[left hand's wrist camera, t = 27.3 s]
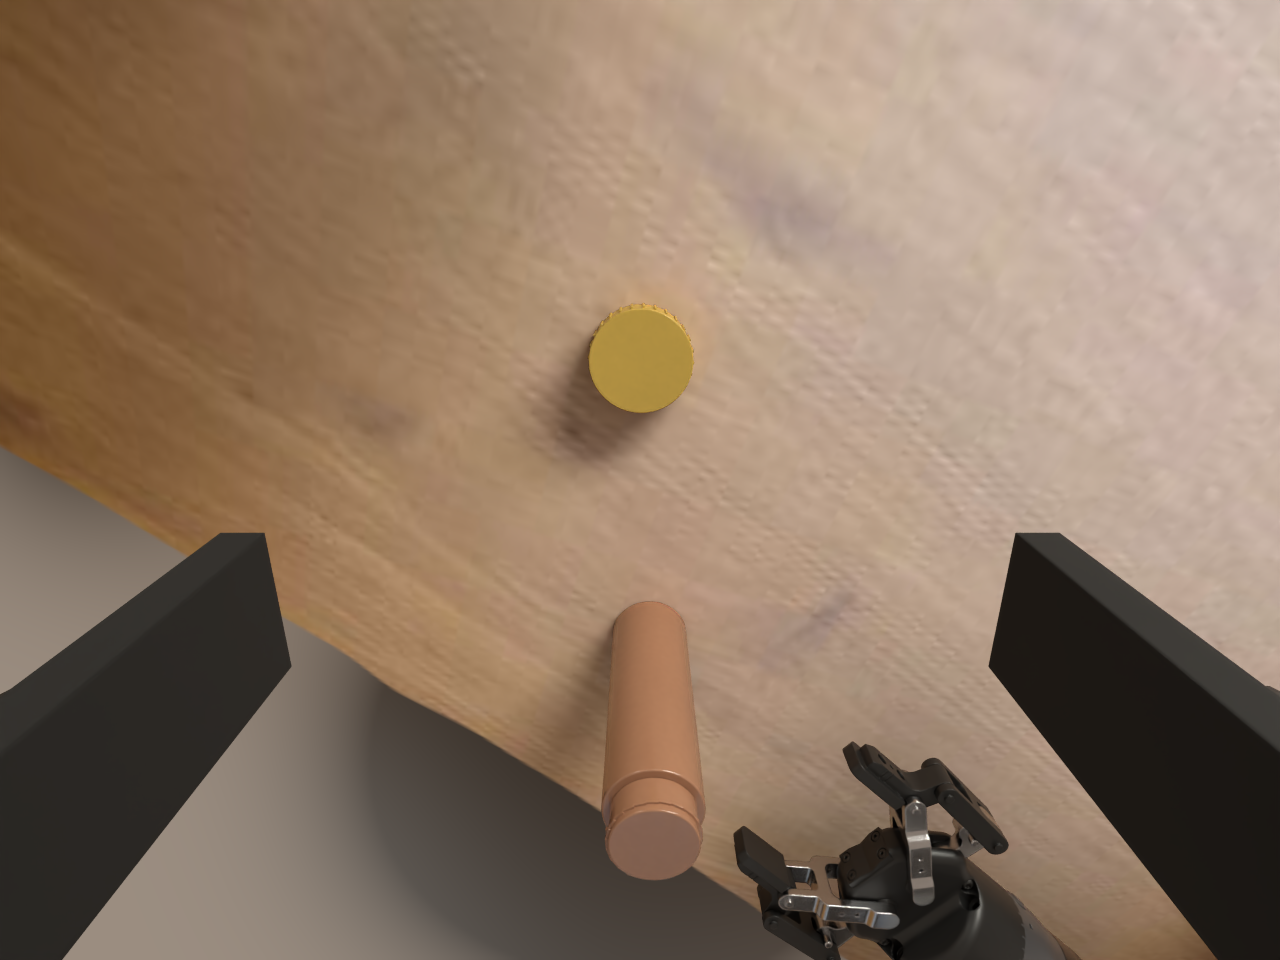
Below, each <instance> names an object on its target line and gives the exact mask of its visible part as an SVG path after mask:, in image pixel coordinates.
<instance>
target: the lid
mask: <svg viewBox="0 0 1280 960" xmlns="http://www.w3.org/2000/svg"><path fill="white" fill-rule="evenodd" d="M593 336H594V339H593V341H591V343H590V346H589V347H590V353H589V355H588V359H589V371H590V374H591V377H592V381H593V382H594V384H595V386H596V388H597V389H598V391H599V392H600V394H601V395H602V396H603V397H604V398H605V399H606V400H607V401H608V402H610V403H611V404H613V405H614V406H616V407H618V408H620V409H623V410H625V411H629V412H635V413H647V412H653V411H656V410H660V409H662V408H664V407H666V406H668V405H669V404H671V403H672V402H673V401H675V400H676V399H677V398H678V397H679V396H680V395H681V394H682V392H683V391H684V390H685V388H686V386H687V385H688V382H689V380H690V377H691V376H692V369H693V364H694V361H693V353H692V352H694V350H693V348H692V346H691V344H690V342H689V341H691V340H690V337H689V335H687V334H686V332H685V328H684V326H683V324H682V325H681V324H680V323H679V322H678V320H677V318H676V316H674V317H673V316H672V315H671V314H670V313H668V312H667V310H666V309H665V310H663V309H661V308H658V307H656V305H654V306H651V305H645V303H642V304H640V305H633V304H631V306H627V307H624V308H622V307H620V308H619V310H617V311H616V312H614V313H610V314H609V317H607V318H606V319H605V320H604V321H603V320H602V321H601V324H600V327H599V328H598V330H596V331H595V333H594V335H593Z"/></svg>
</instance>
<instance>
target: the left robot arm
mask: <svg viewBox="0 0 1280 960" xmlns="http://www.w3.org/2000/svg"><path fill="white" fill-rule="evenodd" d="M290 668H291V661H290V657H289V652H288V647H287V642H286V637H285V632H284V627H283V622H282V617H281V612H280V607H279V602H278V597H277V592H276V588H275V583H274V578H273V573H272V568H271V563H270V558H269V553H268V548H267V543H266V538H265V533H220V534H218V535H217V536H216V537H214V538H213V539H212V540H210V541H209V542H208V543H206V544H205V545H204V546H202V547H201V548H200V549H198V550H197V551H196V552H194V553H193V554H192V555H190V556H189V557H187V558H186V559H185V560H184V561H182V562H181V563H179V564H178V565H177V566H175V567H174V568H173V569H171V570H170V571H169V572H167V573H166V574H165V575H163V576H162V577H161V578H159V579H158V580H157V581H155V582H154V583H153V584H151V585H150V586H149V587H147V588H146V589H144V590H143V591H142V592H140V593H139V594H138V595H136V596H135V597H134V598H132V599H131V600H130V601H128V602H127V603H126V604H124V605H123V606H122V607H120V608H119V609H118V610H116V611H115V612H114V613H112V614H111V615H110V616H108V617H107V618H106V619H104V620H103V621H101V622H100V623H99V624H97V625H96V626H95V627H93V628H92V629H91V630H89V631H88V632H87V633H85V634H84V635H83V636H81V637H80V638H79V639H77V640H76V641H75V642H73V643H72V644H71V645H69V646H68V647H67V648H65V649H64V650H63V651H61V652H60V653H58V654H57V655H56V656H54V657H53V658H52V659H50V660H49V661H48V662H46V663H45V664H44V665H42V666H41V667H40V668H38V669H37V670H36V671H34V672H33V673H32V674H30V675H29V676H28V677H26V678H25V679H24V680H22V681H21V682H19V683H18V684H17V685H15V686H14V687H13V688H11V689H10V690H8V691H6V692H4V693H2V694H0V960H62V959H63V958H64V957H65V955H66V954H67V953H68V952H69V950H70V949H71V948H72V946H73V945H74V944H75V943H76V941H77V940H78V939H79V938H80V936H81V935H82V934H83V932H84V931H85V930H86V928H87V927H88V926H89V925H90V923H91V922H92V921H93V920H94V918H95V917H96V916H97V914H98V913H99V912H100V911H101V909H102V908H103V907H104V906H105V904H106V903H107V902H108V900H109V899H110V898H111V897H112V895H113V894H114V893H115V891H116V890H117V889H118V888H119V886H120V885H121V884H122V883H123V881H124V880H125V879H126V877H127V876H128V875H129V874H130V872H131V871H132V870H133V868H134V867H135V866H136V865H137V863H138V862H139V861H140V859H141V858H142V857H143V856H144V854H145V853H146V852H147V850H148V849H149V848H150V847H151V845H152V844H153V843H154V842H155V840H156V839H157V838H158V836H159V835H160V834H161V833H162V831H163V830H164V829H165V828H166V826H167V825H168V824H169V822H170V821H171V820H172V819H173V817H174V816H175V815H176V813H177V812H178V811H179V810H180V808H181V807H182V806H183V805H184V803H185V802H186V801H187V799H188V798H189V797H190V796H191V794H192V793H193V792H194V790H195V789H196V788H197V787H198V785H199V784H200V783H201V782H202V780H203V779H204V778H205V776H206V775H207V774H208V773H209V771H210V770H211V769H212V767H213V766H214V765H215V764H216V762H217V761H218V760H219V758H220V757H221V756H222V755H223V753H224V752H225V751H226V749H227V748H228V747H229V746H230V744H231V743H232V742H233V741H234V739H235V738H236V737H237V735H238V734H239V733H240V732H241V730H242V729H243V728H244V727H245V725H246V724H247V723H248V721H249V720H250V719H251V718H252V716H253V715H254V714H255V712H256V711H257V710H258V709H259V707H260V706H261V705H262V704H263V702H264V701H265V700H266V698H267V697H268V696H269V695H270V693H271V692H272V691H273V689H274V688H275V687H276V686H277V684H278V683H279V682H280V680H281V679H282V678H283V677H284V675H285V674H286V673H287V672H288V670H289V669H290ZM989 668H990V669H991V670H992V672H993V673H994V674H995V675H996V677H997V678H998V679H999V680H1000V682H1001V683H1002V684H1003V686H1004V687H1005V688H1006V689H1007V691H1008V692H1009V693H1010V695H1011V696H1012V697H1013V698H1014V700H1015V701H1016V702H1017V704H1018V705H1019V706H1020V707H1021V709H1022V710H1023V711H1024V712H1025V714H1026V715H1027V716H1028V718H1029V719H1030V720H1031V721H1032V723H1033V724H1034V725H1035V727H1036V728H1037V729H1038V730H1039V732H1040V733H1041V734H1042V735H1043V737H1044V738H1045V739H1046V741H1047V742H1048V743H1049V744H1050V746H1051V747H1052V748H1053V750H1054V751H1055V752H1056V753H1057V755H1058V756H1059V757H1060V758H1061V760H1062V761H1063V762H1064V764H1065V765H1066V766H1067V767H1068V769H1069V770H1070V771H1071V773H1072V774H1073V775H1074V776H1075V778H1076V779H1077V780H1078V782H1079V783H1080V784H1081V785H1082V787H1083V788H1084V789H1085V790H1086V792H1087V793H1088V794H1089V796H1090V797H1091V798H1092V799H1093V801H1094V802H1095V803H1096V805H1097V806H1098V807H1099V808H1100V810H1101V811H1102V812H1103V813H1104V815H1105V816H1106V817H1107V819H1108V820H1109V821H1110V822H1111V824H1112V825H1113V826H1114V828H1115V829H1116V830H1117V831H1118V833H1119V834H1120V835H1121V836H1122V838H1123V839H1124V840H1125V842H1126V843H1127V844H1128V845H1129V847H1130V848H1131V849H1132V851H1133V852H1134V853H1135V854H1136V856H1137V857H1138V858H1139V860H1140V861H1141V862H1142V863H1143V865H1144V866H1145V867H1146V868H1147V870H1148V871H1149V872H1150V874H1151V875H1152V876H1153V877H1154V879H1155V880H1156V881H1157V883H1158V884H1159V885H1160V886H1161V888H1162V889H1163V890H1164V891H1165V893H1166V894H1167V895H1168V897H1169V898H1170V899H1171V900H1172V902H1173V903H1174V904H1175V906H1176V907H1177V908H1178V909H1179V911H1180V912H1181V913H1182V914H1183V916H1184V917H1185V918H1186V920H1187V921H1188V922H1189V923H1190V925H1191V926H1192V927H1193V929H1194V930H1195V931H1196V932H1197V934H1198V935H1199V936H1200V938H1201V939H1202V940H1203V941H1204V943H1205V944H1206V945H1207V946H1208V948H1209V949H1210V950H1211V952H1212V953H1213V954H1214V955H1215V957H1216V958H1217V959H1218V960H1280V691H1278V690H1276V689H1274V688H1272V687H1270V686H1265V685H1263V684H1262V683H1261V682H1259V681H1258V680H1256V679H1255V678H1254V677H1252V676H1251V675H1250V674H1248V673H1247V672H1246V671H1244V670H1243V669H1242V668H1240V667H1239V666H1238V665H1236V664H1235V663H1234V662H1232V661H1231V660H1230V659H1228V658H1227V657H1226V656H1224V655H1223V654H1222V653H1220V652H1219V651H1217V650H1216V649H1215V648H1213V647H1212V646H1211V645H1209V644H1208V643H1207V642H1205V641H1204V640H1203V639H1201V638H1200V637H1199V636H1197V635H1196V634H1195V633H1193V632H1192V631H1191V630H1189V629H1188V628H1187V627H1185V626H1184V625H1183V624H1181V623H1180V622H1179V621H1177V620H1176V619H1174V618H1173V617H1172V616H1170V615H1169V614H1168V613H1166V612H1165V611H1164V610H1162V609H1161V608H1160V607H1158V606H1157V605H1156V604H1154V603H1153V602H1152V601H1150V600H1149V599H1148V598H1146V597H1145V596H1144V595H1142V594H1141V593H1140V592H1138V591H1137V590H1136V589H1134V588H1133V587H1131V586H1130V585H1129V584H1127V583H1126V582H1125V581H1123V580H1122V579H1121V578H1119V577H1118V576H1117V575H1115V574H1114V573H1113V572H1111V571H1110V570H1109V569H1107V568H1106V567H1105V566H1103V565H1102V564H1101V563H1099V562H1098V561H1097V560H1095V559H1094V558H1093V557H1091V556H1090V555H1088V554H1087V553H1086V552H1084V551H1083V550H1082V549H1080V548H1079V547H1078V546H1076V545H1075V544H1074V543H1072V542H1071V541H1070V540H1068V539H1067V538H1066V537H1064V536H1063V535H1062V534H1060V533H1015V538H1014V543H1013V548H1012V553H1011V558H1010V563H1009V568H1008V573H1007V578H1006V583H1005V588H1004V592H1003V597H1002V602H1001V607H1000V612H999V617H998V622H997V627H996V632H995V637H994V642H993V647H992V652H991V657H990V661H989Z"/></svg>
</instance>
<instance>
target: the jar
mask: <svg viewBox="0 0 1280 960" xmlns="http://www.w3.org/2000/svg"><path fill="white" fill-rule="evenodd" d="M705 811H706V806H705V797H704V788H703V779H702V770H701V761H700V753H699V744H698V735H697V726H696V717H695V708H694V699H693V690H692V681H691V672H690V663H689V654H688V645H687V636H686V628H685V624H684V622H683V620H682V618H681V616H680V615H679V614H678V613H677V612H676V611H675V610H674V609H672V608H671V607H669V606H667V605H665V604H662V603H658V602H641V603H637V604H634V605H632V606H630V607H629V608H627V609H626V610H624V611H623V612H622V613H621V614H620V615H619V617H618V618H617V620H616V622H615V624H614V628H613V639H612V654H611V669H610V685H609V700H608V715H607V730H606V745H605V761H604V776H603V791H602V806H601V812H602V818H603V820H604V823H605V825H606V835H605V844H606V851H607V853H608V855H609V857H610V860H611V861H612V862H613V863H614V864H615V865H616V866H617V868H618V869H620V870H622V871H623V872H625V873H626V874H627V875H630V876H633V877H636V878H640V879H645V880H663V879H668V878H672V877H675V876H677V875H679V874H681V873H683V872H684V871H686V870H687V869H689V868H690V867H691V866H692V865H693V863H694V862H695V861H696V859H697V857H698V855H699V853H700V848H701V844H702V841H703V831H702V827H701V825H702V822H703V820H704V817H705Z"/></svg>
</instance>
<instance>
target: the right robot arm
mask: <svg viewBox="0 0 1280 960" xmlns="http://www.w3.org/2000/svg"><path fill="white" fill-rule="evenodd" d="M843 753H844V756H845V758H846V761H847V764H848V766H849V769H850V770H851V772H852V773H853V775H854V776H855V777H856V778H857V779H858V780H859V781H861V782H862V783H863V784H864V785H865V786H867V787H868V788H869V789H870V790H871V791H873V792H874V793H875V794H876V795H878V796H879V797H880V798H881V799H882V800H884V801H885V802H886V803H887V804H888V805H889V811H890V827H891V828H886V829H883V830H882V829H880V828H879V827H878V828H876V829H875V830H874V831H872V832H871V833H869V834H868V835H867V837H866V838H865V839H864V840H863V841H862V843H860V844H858V845H856V846H854V847H851V848H849V849H848V850H846V851H845V852H843V853H842V854H841V855H839V857H840V858H838V857H825V856H813V857H812V858H811V860H810V861H809V862H803V861H790V860H784V857H783V855H782V854H781V853H780V852H778V851H777V850H776V849H774V848H773V847H772V846H770V845H769V844H768V843H767V842H765V841H764V840H763V839H761V838H760V837H759V836H757V835H756V834H755V833H753V832H752V831H751V830H749V829H748V828H747V827H745V826H742V827H741V828H740V829H739V830H737V831H736V832H735V833H734V842H735V852H736V859H737V865H738V867H739V869H740V870H741V872H743V873H744V874H745V875H747V876H748V877H750V878H751V879H753V880H754V881H755V882H756V883H758V884H759V885H758V886H757V891H758V897H759V899H760V905H761V910H762V920H763V925H764V928H765V929H766V930H768V931H770V932H771V933H773V934H774V935H776V936H777V937H779V938H781V939H782V940H784V941H785V942H787V943H789V944H790V945H792V946H794V947H795V948H797V949H798V950H800V951H801V952H803V953H805V954H806V955H808V956H809V957H811V958H813V959H814V960H841V958H840V955H839V951H838V948H839V947H840V946H841V945H842V944H844V943H845V942H846V941H848V940H849V939H850V938H852V937H853V936H854V935H855V936H856V937H859V938H863V939H868V940H871V941H874V942H876V943H877V944H878V945H879V946H880V947H881V948H882V949H883V950H884V951H885V952H886V954H887V955H888V956H889V957H890V958H891V959H892V960H1082V959H1081V958H1080V957H1079V956H1078V955H1077V954H1075V953H1074V952H1073V951H1072V950H1071V949H1070V948H1069V947H1068V946H1066V945H1065V944H1064V943H1063V942H1062V941H1060V940H1059V939H1058V938H1057V937H1056V936H1054V935H1053V934H1052V933H1051V932H1050V931H1048V930H1047V929H1046V928H1045V927H1044V926H1043V925H1042V924H1041V922H1040V921H1039V920H1038V919H1037V918H1036V917H1035V916H1034V915H1033V913H1032V912H1031V911H1030V910H1028V909H1027V908H1026V907H1025V906H1024V904H1023V903H1022V902H1021V901H1020V900H1019V899H1018V898H1017V897H1016V896H1015V895H1014V894H1013V893H1010V892H1009V891H1006V890H1005V889H1004V888H1003V887H1001V886H1000V885H999V884H998V883H997V882H995V881H994V880H993V879H992V878H991V877H989V876H988V875H987V874H986V873H985V872H983V871H982V870H981V869H980V868H979V867H977V866H976V865H975V864H974V863H973V862H971V861H970V860H969V859H968V858H967V857H969V856H971V855H972V854H974V853H975V852H977V851H979V850H980V849H982V848H985V849H986V850H987V851H988V852H989V853H991V854H1001V853H1003V852H1005V851H1006V850H1007V849H1008V846H1009V844H1008V842H1007V840H1006V838H1005V837H1004V835H1003V833H1002V832H1001V830H1000V828H999V827H998V825H997V823H996V821H995V820H994V818H993V816H992V815H991V813H990V811H989V810H988V808H987V807H986V806H985V805H984V804H983V803H982V802H981V801H980V800H979V799H978V798H977V797H976V796H975V795H974V794H973V793H972V792H971V791H970V790H969V789H968V788H967V787H966V786H965V785H964V784H963V783H962V782H961V781H960V780H959V779H958V778H957V777H956V776H955V775H954V774H953V773H952V772H951V771H950V770H949V769H948V768H947V767H946V766H945V765H944V764H943V763H942V762H941V761H940V760H939V759H937V758H930V759H927V760H925V761H924V762H923V764H922V766H921V769H920V770H918V771H915V772H907V771H905V770H901V769H900V768H898V767H897V766H896V765H895V764H894V763H893V762H891V761H890V760H889V759H888V758H887V757H885V756H884V755H883V754H882V753H880V751H878V750H877V749H876V748H875V747H873V746H870V745H867V744H865V745H864V746H862V747H861V748H860V747H859V746H858V745H857V744H856V743H854V742H851V743H850V744H848V745H847V746H846V747H845V748H843ZM936 803H939V804H940V805H941V806H942V807H943V808H944V809H945V810H946V811H947V812H948V813H949V814H950V815H951V816H952V817H953V825H954V827H955V829H956V830H955V833H954V835H953V836H951V835H949V834H947V833H944V832H937V831H927V808H926V807H928V806H931V805H934V804H936ZM828 878H832V879H837V881H838V888H839V896H840V899H839V898H837V897H835V896H834V895H833V894H832V892H831V889H830V885H829V882H828ZM795 882H802V883H807V884H809V885H810V887H811V890H805V889H796V885H795Z"/></svg>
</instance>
